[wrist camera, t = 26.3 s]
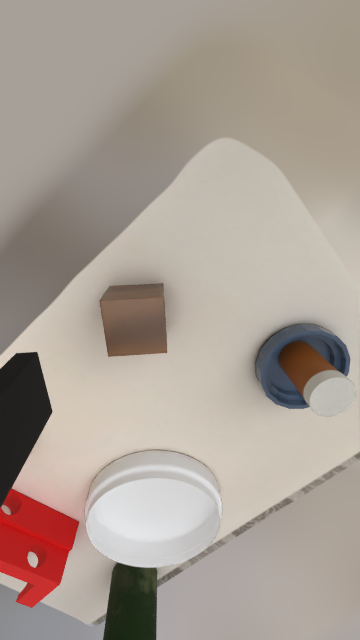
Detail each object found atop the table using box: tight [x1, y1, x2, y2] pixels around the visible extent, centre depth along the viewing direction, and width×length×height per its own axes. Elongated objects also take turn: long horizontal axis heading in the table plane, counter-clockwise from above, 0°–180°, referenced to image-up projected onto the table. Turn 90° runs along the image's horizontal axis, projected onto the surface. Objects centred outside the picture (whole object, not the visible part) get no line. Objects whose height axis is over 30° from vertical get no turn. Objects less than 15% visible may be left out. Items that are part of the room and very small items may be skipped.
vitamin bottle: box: [278, 341, 356, 417], centre depth 42 cm, size 6×6×11 cm
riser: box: [100, 283, 167, 357], centre depth 40 cm, size 8×8×7 cm
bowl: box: [256, 324, 350, 409], centre depth 47 cm, size 14×15×4 cm
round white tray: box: [85, 450, 223, 568], centre depth 56 cm, size 27×27×6 cm
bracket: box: [0, 489, 79, 608], centre depth 54 cm, size 18×10×10 cm
